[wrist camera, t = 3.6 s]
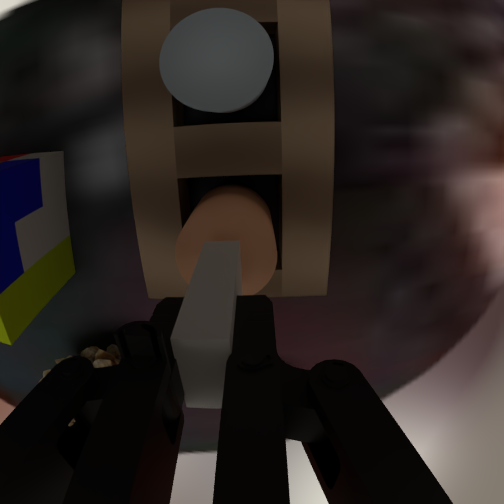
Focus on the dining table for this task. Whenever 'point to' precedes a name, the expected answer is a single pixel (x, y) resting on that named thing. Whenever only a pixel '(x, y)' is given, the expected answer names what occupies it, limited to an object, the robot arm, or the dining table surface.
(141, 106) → the button board
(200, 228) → the terracotta cap
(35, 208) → the puzzle toy
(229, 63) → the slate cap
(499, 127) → the dining table surface
